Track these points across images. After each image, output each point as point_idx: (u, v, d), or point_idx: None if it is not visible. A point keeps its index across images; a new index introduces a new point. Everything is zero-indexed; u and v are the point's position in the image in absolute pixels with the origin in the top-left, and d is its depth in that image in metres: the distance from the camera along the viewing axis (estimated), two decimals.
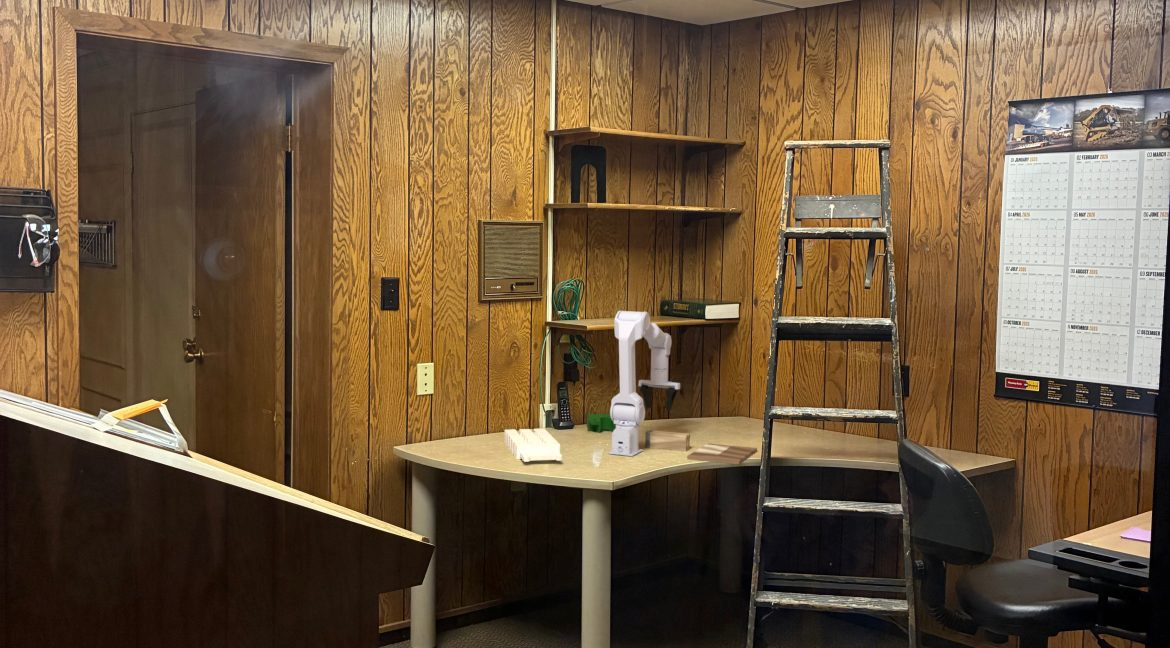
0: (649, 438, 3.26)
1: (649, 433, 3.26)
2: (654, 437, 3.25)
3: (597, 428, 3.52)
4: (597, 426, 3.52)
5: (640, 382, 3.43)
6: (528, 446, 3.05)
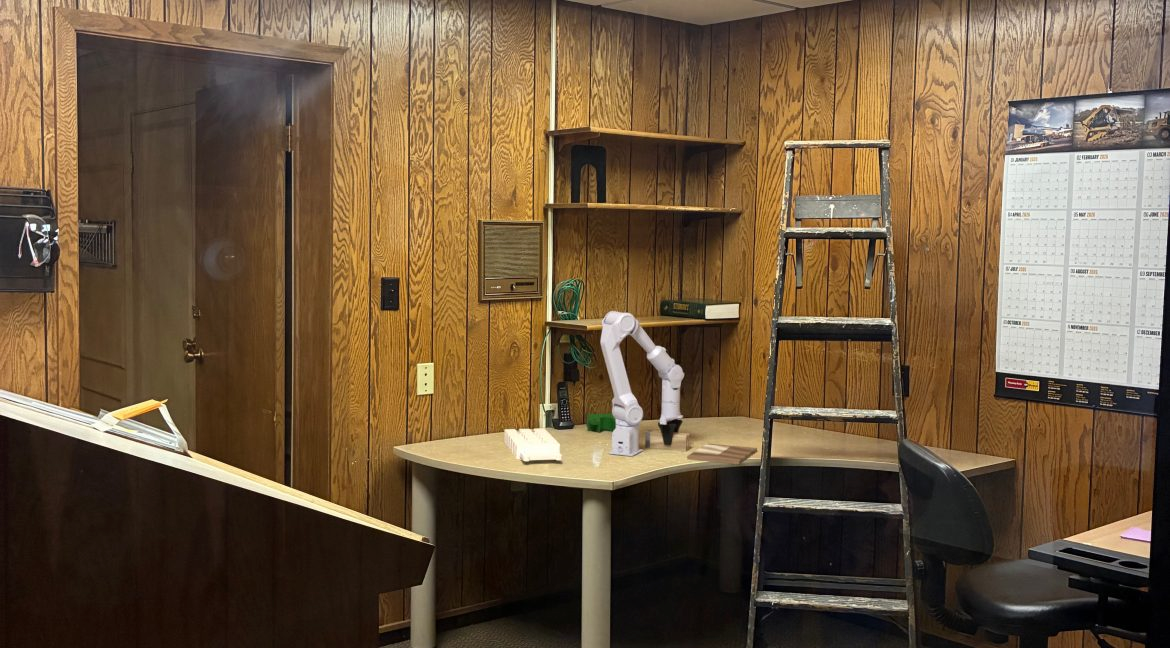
0: (649, 438, 3.26)
1: (649, 433, 3.26)
2: (654, 437, 3.25)
3: (597, 428, 3.52)
4: (597, 426, 3.52)
5: None
6: (528, 446, 3.05)
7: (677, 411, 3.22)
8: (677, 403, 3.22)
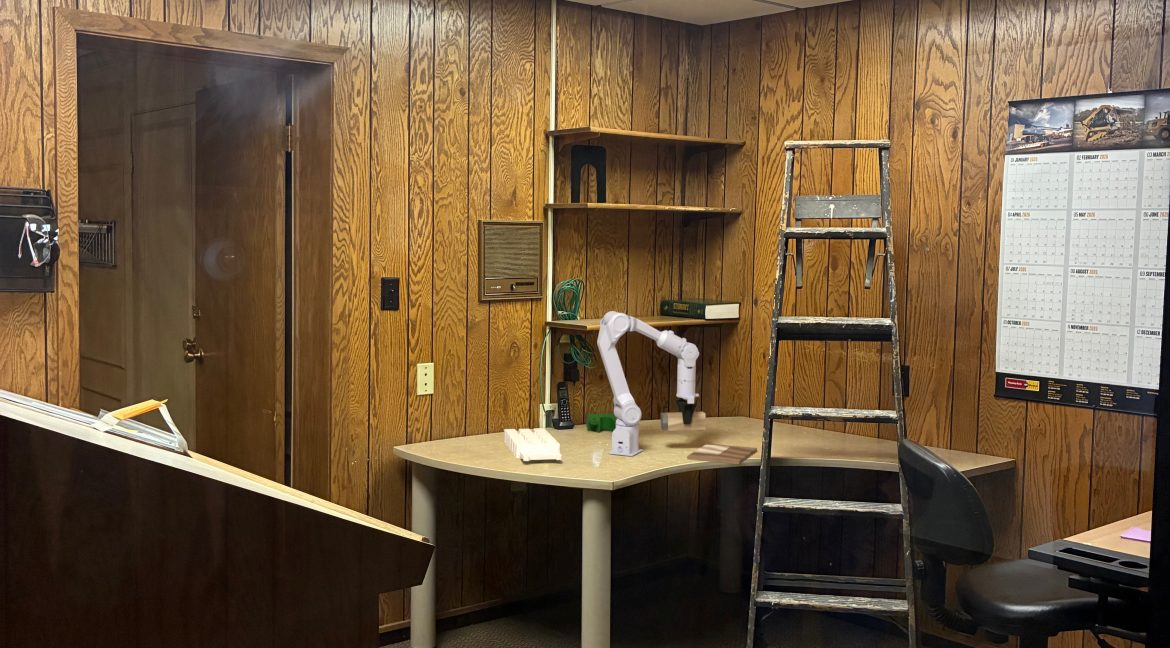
0: (667, 421, 3.20)
1: (667, 415, 3.20)
2: (672, 419, 3.20)
3: (597, 428, 3.52)
4: (597, 426, 3.52)
5: None
6: (528, 445, 3.05)
7: None
8: None
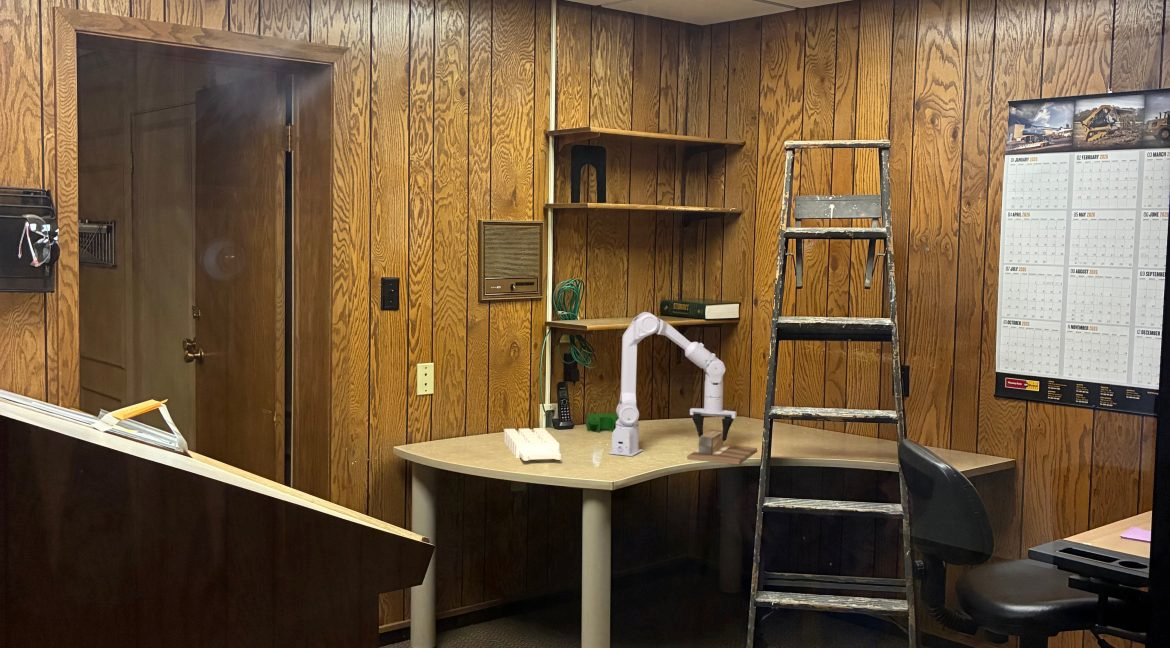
0: (712, 443, 3.13)
1: (712, 438, 3.12)
2: (714, 441, 3.14)
3: (596, 428, 3.53)
4: (596, 426, 3.53)
5: (692, 411, 3.20)
6: (527, 445, 3.06)
7: None
8: None
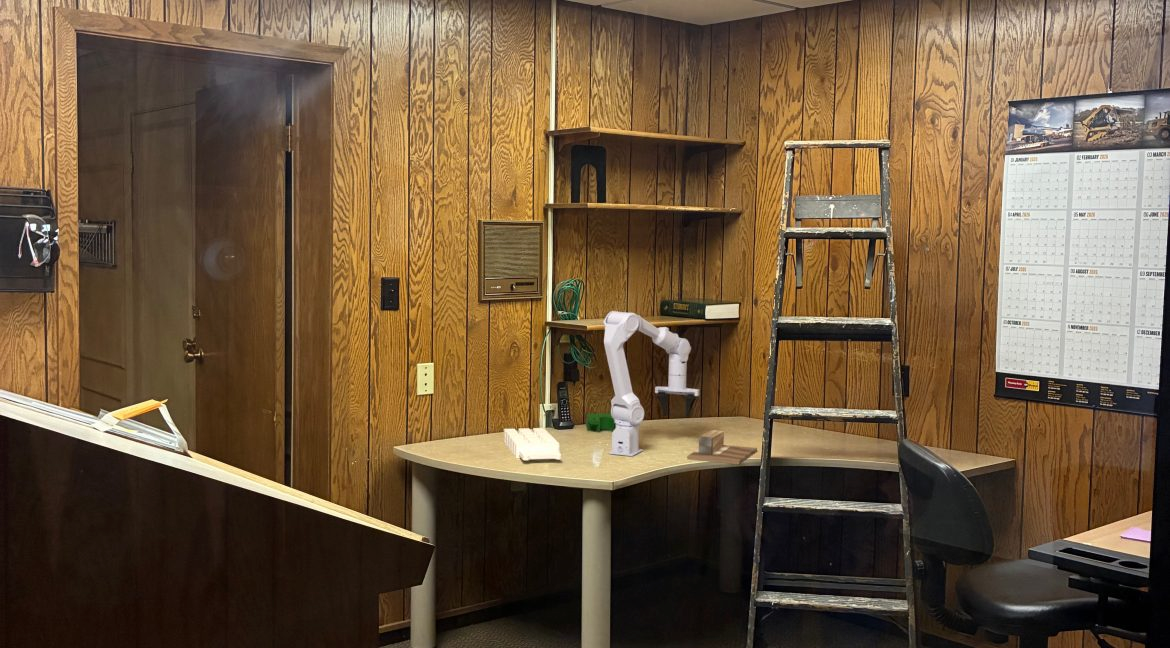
0: (712, 443, 3.13)
1: (712, 438, 3.12)
2: (714, 441, 3.14)
3: (596, 428, 3.53)
4: (596, 426, 3.53)
5: (657, 389, 3.31)
6: (527, 445, 3.06)
7: None
8: None
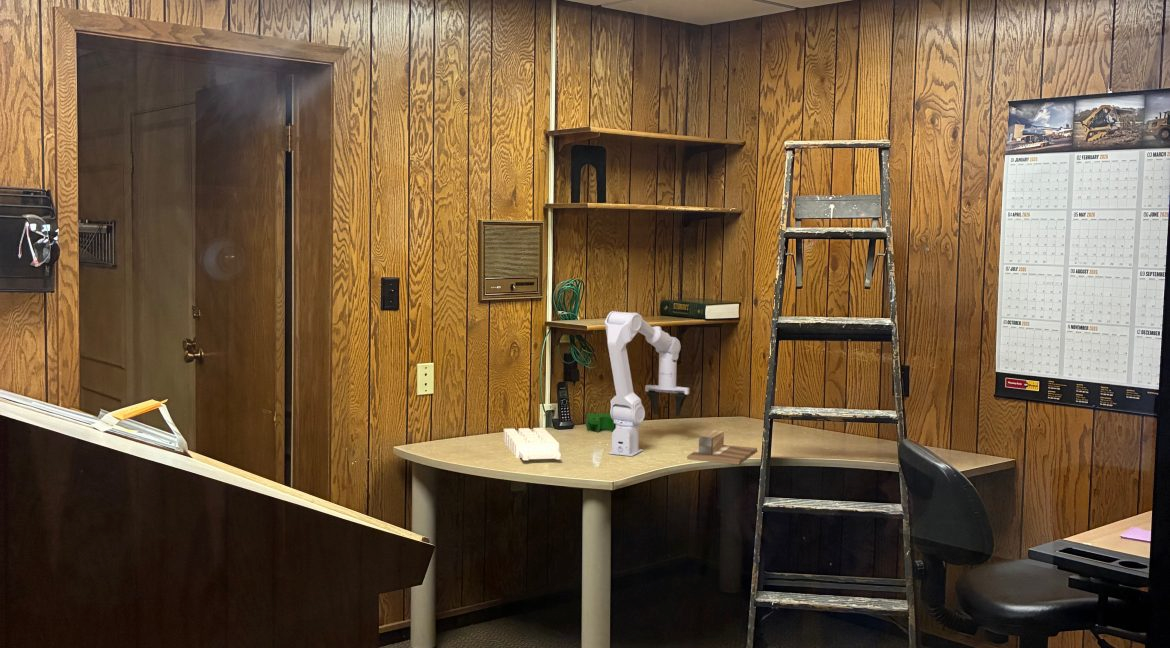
0: (712, 443, 3.13)
1: (712, 438, 3.12)
2: (714, 441, 3.14)
3: (596, 428, 3.53)
4: (596, 426, 3.53)
5: (647, 387, 3.34)
6: (527, 445, 3.06)
7: None
8: None
